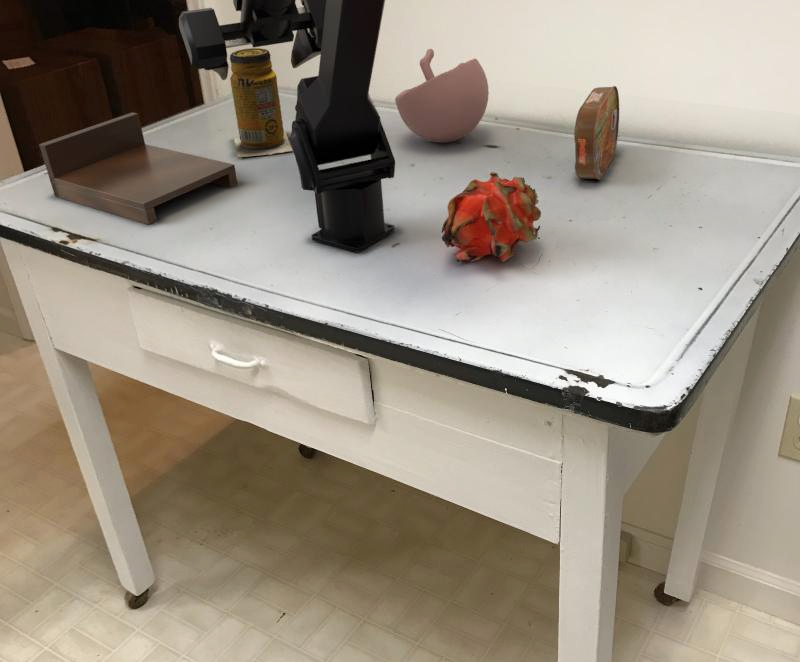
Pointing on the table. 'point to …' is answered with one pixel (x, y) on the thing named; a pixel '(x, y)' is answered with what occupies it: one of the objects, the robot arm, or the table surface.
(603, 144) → the tin
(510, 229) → the dragon fruit
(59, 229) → the table surface
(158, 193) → the shelf
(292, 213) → the table surface
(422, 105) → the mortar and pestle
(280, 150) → the condiment
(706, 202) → the table surface
